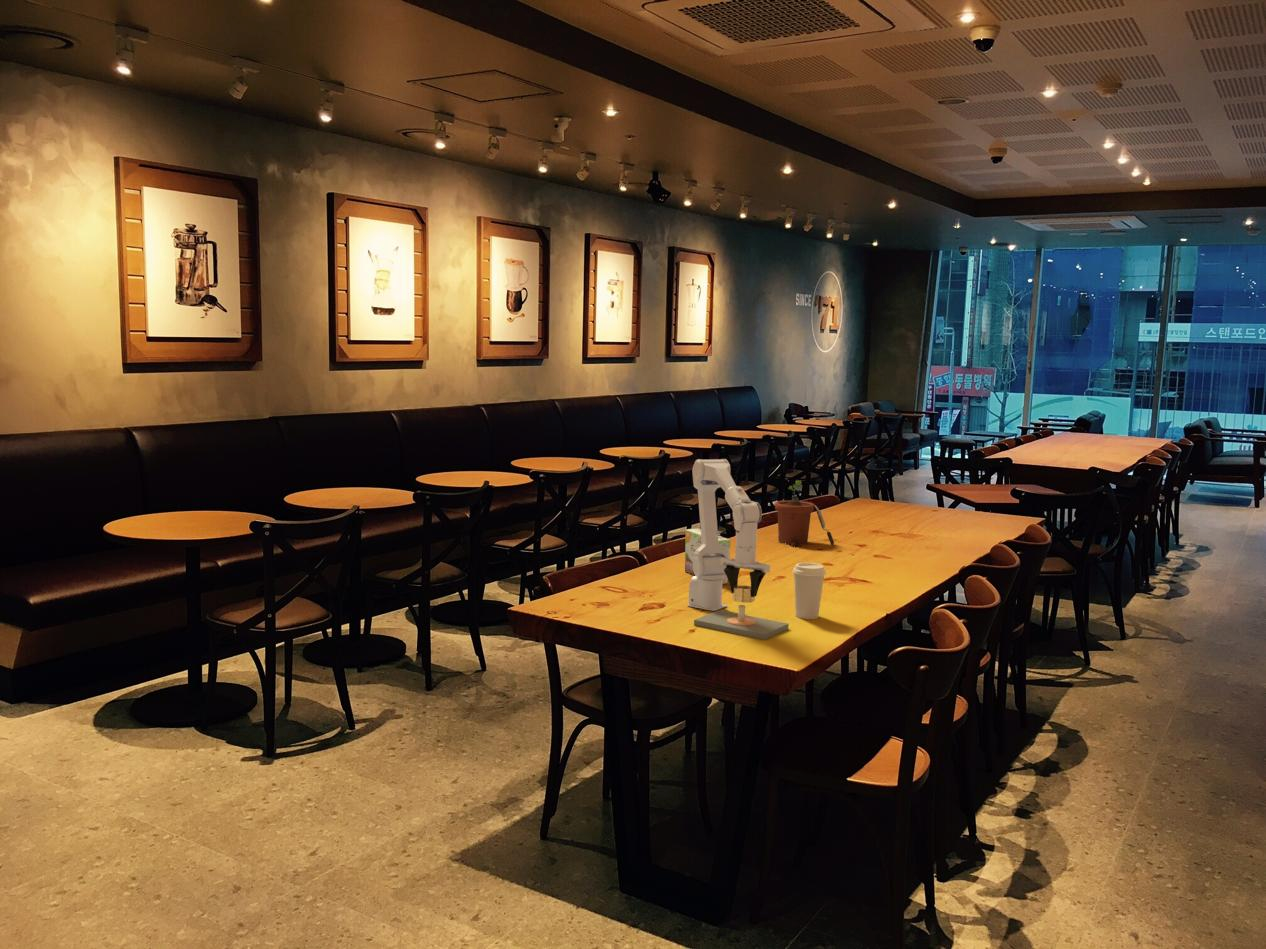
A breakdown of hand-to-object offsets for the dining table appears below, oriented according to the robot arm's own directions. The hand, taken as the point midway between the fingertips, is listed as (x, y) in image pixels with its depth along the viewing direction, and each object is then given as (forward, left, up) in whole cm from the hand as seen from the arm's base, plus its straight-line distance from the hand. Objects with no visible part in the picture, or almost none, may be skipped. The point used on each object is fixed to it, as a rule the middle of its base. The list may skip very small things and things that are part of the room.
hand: (743, 594), depth 279 cm
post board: (0, -1, -9) cm, 9 cm away
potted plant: (-43, +124, -9) cm, 132 cm away
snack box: (-39, +45, -9) cm, 60 cm away
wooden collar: (0, 0, -2) cm, 2 cm away
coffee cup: (+9, +22, -9) cm, 26 cm away
